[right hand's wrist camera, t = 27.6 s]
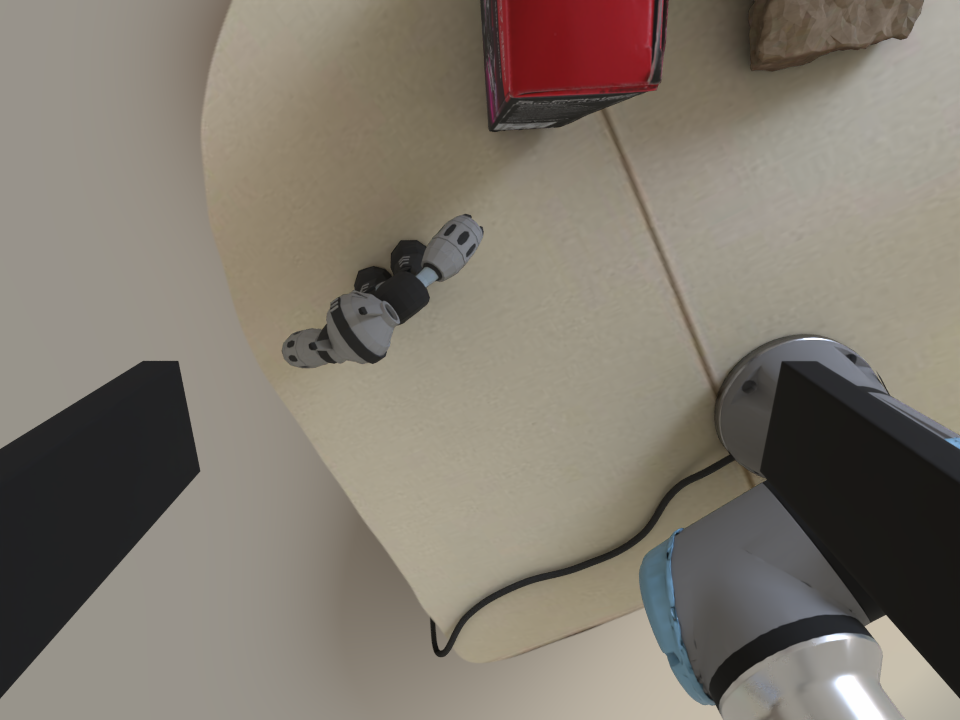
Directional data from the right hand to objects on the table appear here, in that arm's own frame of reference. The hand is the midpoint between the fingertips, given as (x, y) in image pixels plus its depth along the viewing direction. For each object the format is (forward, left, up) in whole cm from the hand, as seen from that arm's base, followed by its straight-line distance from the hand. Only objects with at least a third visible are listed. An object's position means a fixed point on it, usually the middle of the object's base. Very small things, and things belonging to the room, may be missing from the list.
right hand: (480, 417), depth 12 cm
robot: (-9, -3, -41) cm, 42 cm away
